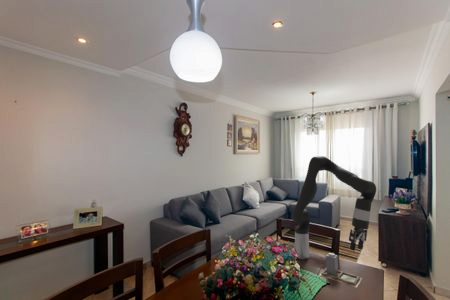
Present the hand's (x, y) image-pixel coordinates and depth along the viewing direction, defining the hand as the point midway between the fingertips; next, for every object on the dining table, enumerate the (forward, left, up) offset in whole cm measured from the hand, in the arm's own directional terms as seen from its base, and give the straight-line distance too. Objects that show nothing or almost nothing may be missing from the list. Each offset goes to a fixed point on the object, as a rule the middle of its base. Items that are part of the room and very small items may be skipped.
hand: (356, 249), depth 120 cm
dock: (-12, +10, -22) cm, 27 cm away
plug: (-16, +10, -22) cm, 28 cm away
